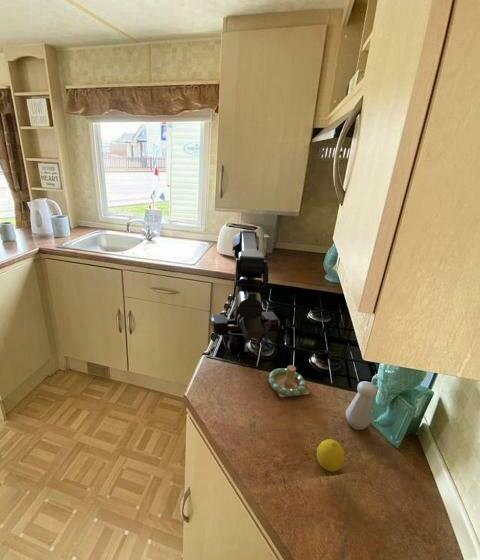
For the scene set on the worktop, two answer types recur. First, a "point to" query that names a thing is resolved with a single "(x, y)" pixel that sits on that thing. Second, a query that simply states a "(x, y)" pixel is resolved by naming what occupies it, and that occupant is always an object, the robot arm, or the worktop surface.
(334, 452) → the lemon
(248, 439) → the worktop surface
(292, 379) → the stand
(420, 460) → the worktop surface
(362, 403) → the salt shaker
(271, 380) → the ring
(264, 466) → the worktop surface
